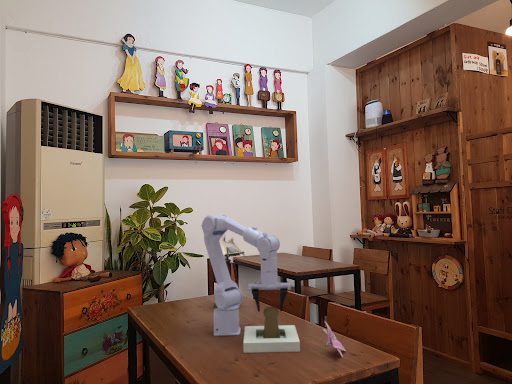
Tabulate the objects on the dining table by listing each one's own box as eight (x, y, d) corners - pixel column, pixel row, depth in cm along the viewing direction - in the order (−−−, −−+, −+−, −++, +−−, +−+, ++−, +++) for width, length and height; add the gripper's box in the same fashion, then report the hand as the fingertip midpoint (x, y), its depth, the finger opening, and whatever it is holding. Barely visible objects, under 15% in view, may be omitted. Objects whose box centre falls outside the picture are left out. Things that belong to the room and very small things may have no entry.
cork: (279, 343, 129) (278, 309, 129) (261, 342, 130) (260, 309, 130) (281, 337, 134) (280, 305, 135) (264, 336, 136) (263, 305, 136)
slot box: (243, 352, 122) (243, 343, 122) (245, 334, 140) (245, 326, 140) (300, 351, 122) (299, 341, 122) (294, 333, 140) (294, 325, 140)
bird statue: (252, 310, 175) (250, 232, 177) (228, 315, 167) (226, 234, 169) (233, 303, 188) (231, 231, 190) (209, 307, 181) (208, 233, 183)
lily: (329, 367, 112) (344, 340, 112) (302, 344, 119) (316, 319, 119) (345, 367, 120) (359, 342, 120) (319, 345, 127) (332, 322, 127)
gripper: (247, 273, 129) (248, 314, 129) (290, 272, 129) (291, 313, 129) (248, 270, 136) (249, 308, 136) (289, 269, 136) (290, 308, 136)
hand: (269, 310), depth 133 cm, fingers open, 7 cm apart
